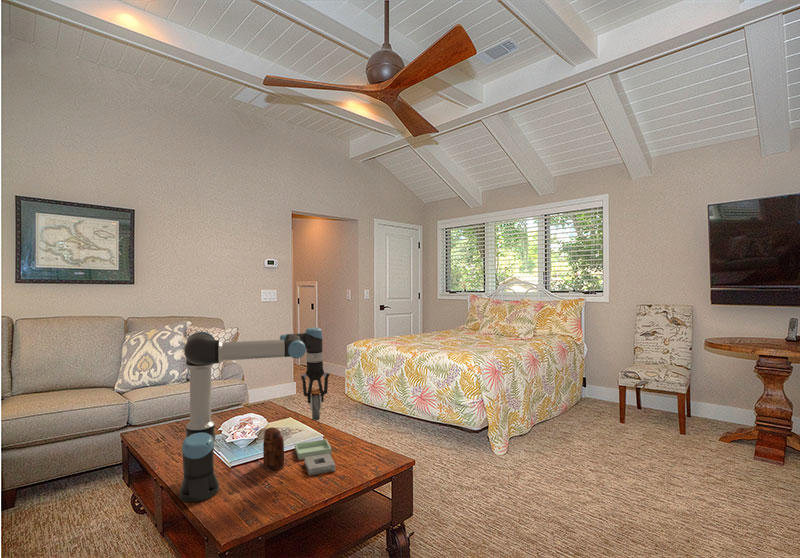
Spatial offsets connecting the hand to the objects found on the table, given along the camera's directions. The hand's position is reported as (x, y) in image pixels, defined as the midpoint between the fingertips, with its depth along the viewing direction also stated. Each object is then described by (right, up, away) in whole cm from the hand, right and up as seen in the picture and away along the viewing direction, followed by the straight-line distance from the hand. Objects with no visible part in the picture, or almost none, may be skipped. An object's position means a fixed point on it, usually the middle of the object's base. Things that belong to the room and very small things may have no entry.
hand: (315, 409), depth 223 cm
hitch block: (+3, -25, -6) cm, 26 cm away
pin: (0, -5, 0) cm, 5 cm away
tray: (-3, -24, +10) cm, 26 cm away
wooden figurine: (-19, -26, -4) cm, 32 cm away
